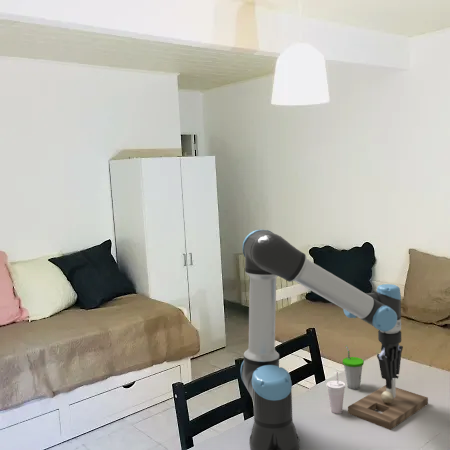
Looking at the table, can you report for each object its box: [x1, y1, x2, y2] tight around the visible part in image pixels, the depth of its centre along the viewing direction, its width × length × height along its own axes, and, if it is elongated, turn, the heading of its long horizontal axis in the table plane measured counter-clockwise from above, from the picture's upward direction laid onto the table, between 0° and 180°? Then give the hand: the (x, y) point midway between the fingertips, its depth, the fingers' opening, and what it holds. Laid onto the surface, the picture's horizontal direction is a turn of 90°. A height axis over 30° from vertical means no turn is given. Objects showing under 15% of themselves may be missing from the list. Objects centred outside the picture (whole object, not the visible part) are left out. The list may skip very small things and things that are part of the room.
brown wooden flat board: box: [347, 384, 429, 431], centre depth 177 cm, size 24×16×2 cm, turn 131°
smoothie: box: [325, 371, 346, 415], centre depth 177 cm, size 6×6×14 cm
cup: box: [342, 345, 364, 390], centre depth 196 cm, size 8×8×15 cm
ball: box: [381, 391, 393, 403], centre depth 176 cm, size 4×4×4 cm
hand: (391, 396), depth 178 cm, fingers closed
